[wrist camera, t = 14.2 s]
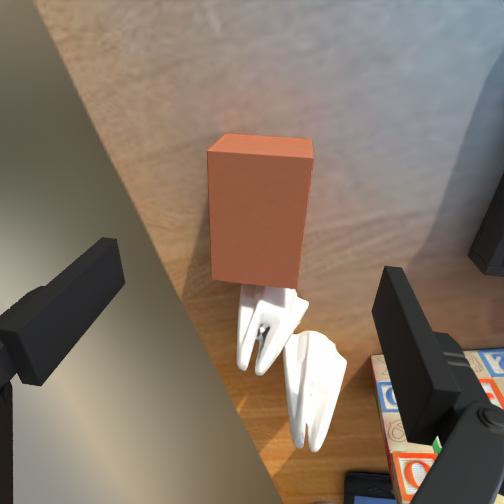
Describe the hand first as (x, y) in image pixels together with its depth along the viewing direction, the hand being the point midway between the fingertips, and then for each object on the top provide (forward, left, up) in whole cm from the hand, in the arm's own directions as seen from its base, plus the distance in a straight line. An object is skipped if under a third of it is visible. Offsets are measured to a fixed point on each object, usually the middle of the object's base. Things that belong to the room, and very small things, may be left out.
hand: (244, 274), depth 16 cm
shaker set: (+11, +3, -10) cm, 15 cm away
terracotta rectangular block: (0, 0, -10) cm, 10 cm away
